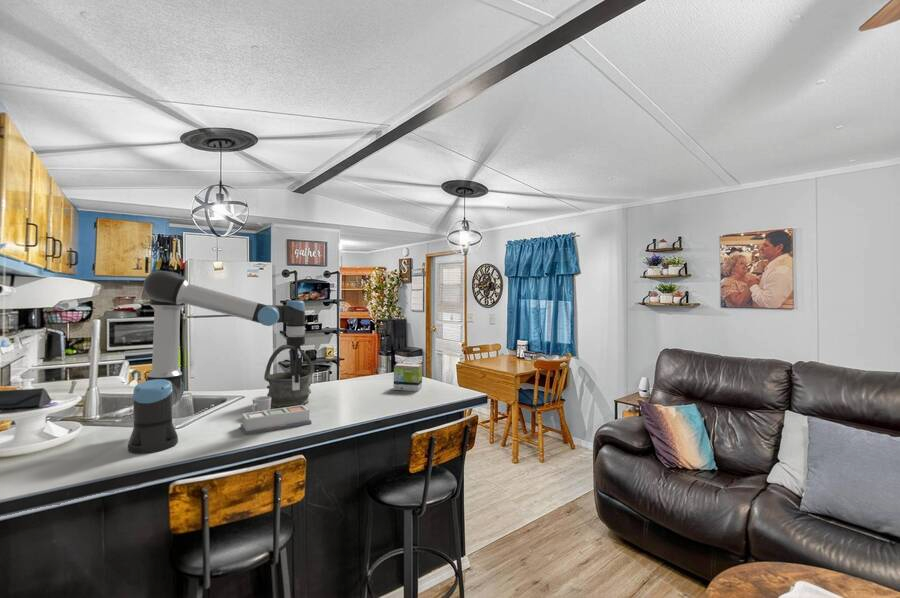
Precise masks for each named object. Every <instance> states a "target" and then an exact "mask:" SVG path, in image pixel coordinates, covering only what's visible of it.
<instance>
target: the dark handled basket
mask: <svg viewBox="0 0 900 598" xmlns="http://www.w3.org/2000/svg"><path fill="white" fill-rule="evenodd" d="M290 349H291V346H289V345H287V343H286V344H282V345H281V346H278V347H277V348H276V349H275V350H274V351H273V353H272V354H271V356H270V357H269V359H268V361H267V364H266V366H265V371H264V375H263V376H264V377H263V378H264V381H265V382H268V385H267V386H266V388H267V389H268V393H267V394H266V396H269V397H271V407H273V408H277V409H278V408H285V407H292V406H299V405H304V406H305V405H306V404H309V401H310V400H309V396H310V394H311V393H312V390H311V389H310V387H311V382H309V379H310V378H312V377H311V376H313V374H314V373H315V367H314V365H313V362H312V361H311V359H310V357H309V356H308V355H307V354H306V353H305V351H304V350H302V353H303V357H302V358H303V359H304V360H305V362H306V364H307V370H301V374H300V390H294V391H293V390H292V372H291V371H284V372H275V373H272V374H271V368H272V365H273V362H274V361H275V359H276V358H277V356H278V355H279V354H280V353H282V352H283V351H285V350H290Z"/></svg>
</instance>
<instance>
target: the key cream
mask: <svg viewBox="0 0 900 598" xmlns="http://www.w3.org/2000/svg"><path fill="white" fill-rule="evenodd" d="M261 416H264V415H263V414H262V413H258V414H252V415H248V418H255V417H261Z"/></svg>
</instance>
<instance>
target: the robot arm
mask: <svg viewBox="0 0 900 598" xmlns="http://www.w3.org/2000/svg"><path fill="white" fill-rule="evenodd" d="M142 286H143V291H144V294H146V295H147V297H149V298H150V299H149V300H150V301H149V306H150V307H151V308H152V309H153V310H154V314H153V315H154V316H153V320H154V321H153V341H152V358H151V359H152V363H151V370H150V372H149V373H147V375H146V381H142V382H140V383H138V384H136V385H135V386H134V389H133V393H132V398H133V399H132V400H133V429H132V432H131V434H130V437H129V440H128V443H127V451H128V453H132V454H148V453H156V452H160V451H164V450H167V449H169V448H172V447H174V446H176V445H178V443H179V438H178V437H179V436H178V434H177V431H176V429H175V426H174V423H173V406H174V405H176V404H177V403H178V402H179V401H180V400H181V399H182V397H183V394H184V391H185V385H184V382H183V372H182V371H181V370H180V369H179V352H180V351H179V347H180V326H181V325H180V324H181V323H180V322H181V310H182V309H183V308H184V307H185V306H186V305H189V306H193V307H197V308H201V309H203V310H208V311H212V312H216V313H221V314H224V315H227V316H231V317H236V318H240V319H243V320H247V321H251V322H255V323H258V324H262V326H267V327H271V326H273V325H276V324H279V323H281V324H282V323H286V330H285V331H286V336H287V337H286V344H287V345H289V346H291V349H288V350H289V351H288V354H289V365H290V372H292V390H293V391H294V390H300V374H301V371H302V369H303V368H302V367H303V364H302V363H303V358H304V357H303V353H302V351H303V350H302V349H301V346H304V345H305V344H306V337H305V336H304V335H305V333H306V330H307V328H306V327H305V325H306V323H305V321H306V309H305V305H306V304H305V302H304V301H303V300H287V301H286V304H283V305H281V304H279V305H277V304H275V305H274V304H273V305H272V304H269V305H268V304H267V305H266V304H263V303H259V302H256V301H252V300H250V299H245V298H242V297H239V296H235V295H232V294H227V293H224V292H220V291H217V290H214V289H209V288H206V287H203V286H198V285H195V284H191V283H189V281H188V280H187V279H186V278H185V277H184V276H183V275H182V274H180V273H178V272H175V271H174V272H173V271H167V270H157V271H153V272H151V273H150V274H149V275H147V276H146V277H145V279H144V281H143V285H142Z"/></svg>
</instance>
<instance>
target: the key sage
mask: <svg viewBox="0 0 900 598" xmlns="http://www.w3.org/2000/svg"><path fill="white" fill-rule="evenodd" d="M281 413H284V412H283V411H282V410H279V411H272V412H269V415H274V414H281Z"/></svg>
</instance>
